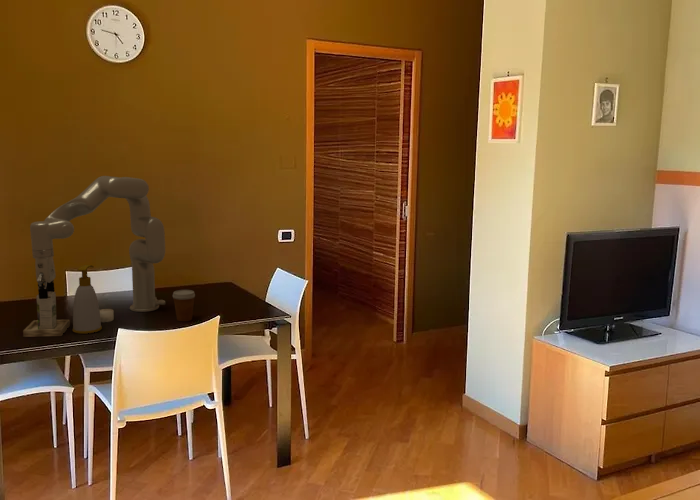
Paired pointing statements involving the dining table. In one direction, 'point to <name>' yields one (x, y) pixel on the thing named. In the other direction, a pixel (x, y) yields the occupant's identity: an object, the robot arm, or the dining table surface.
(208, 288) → the dining table surface
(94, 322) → the soap bottle
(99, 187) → the robot arm
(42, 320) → the syrup box
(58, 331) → the tray
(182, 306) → the disposable coffee cup
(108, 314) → the cream dome
